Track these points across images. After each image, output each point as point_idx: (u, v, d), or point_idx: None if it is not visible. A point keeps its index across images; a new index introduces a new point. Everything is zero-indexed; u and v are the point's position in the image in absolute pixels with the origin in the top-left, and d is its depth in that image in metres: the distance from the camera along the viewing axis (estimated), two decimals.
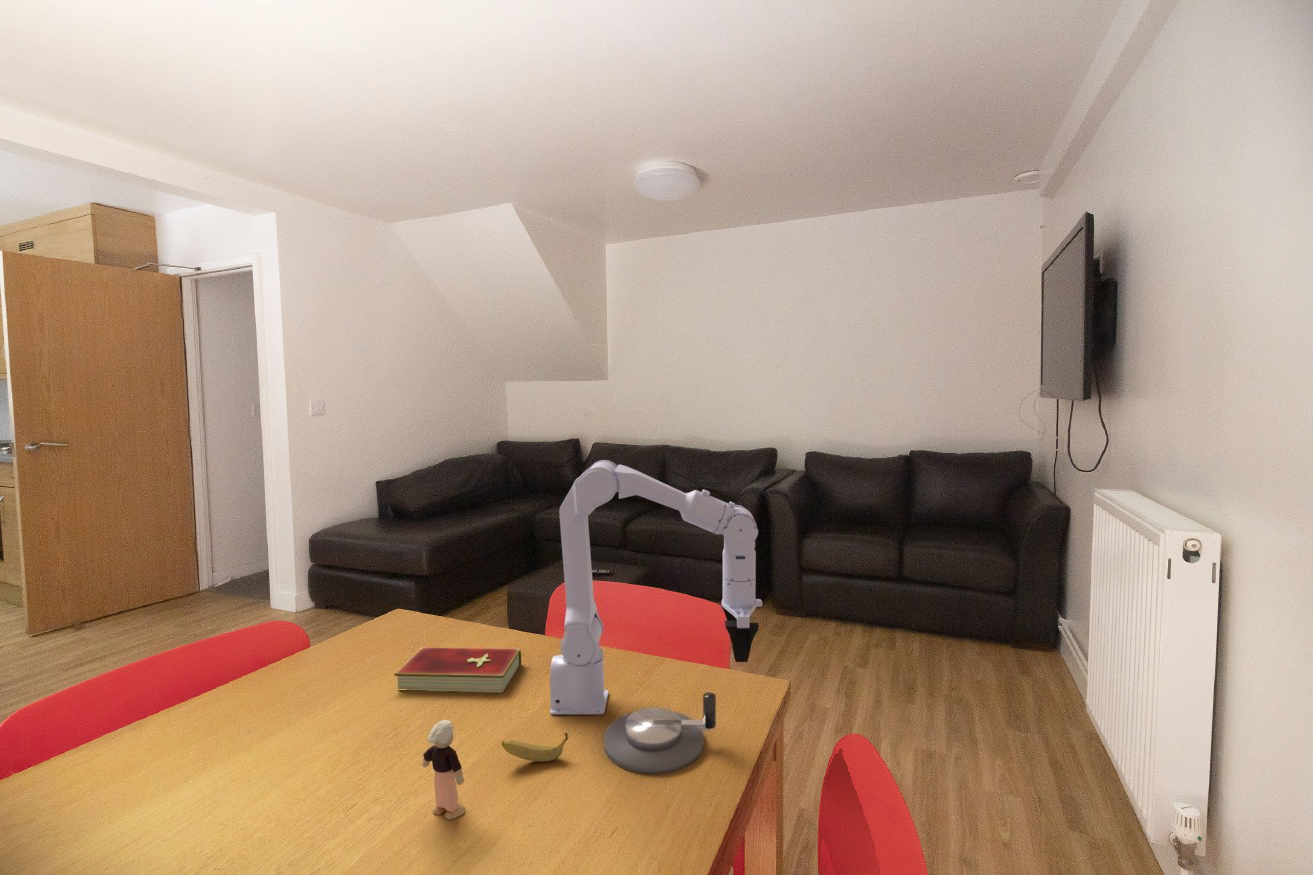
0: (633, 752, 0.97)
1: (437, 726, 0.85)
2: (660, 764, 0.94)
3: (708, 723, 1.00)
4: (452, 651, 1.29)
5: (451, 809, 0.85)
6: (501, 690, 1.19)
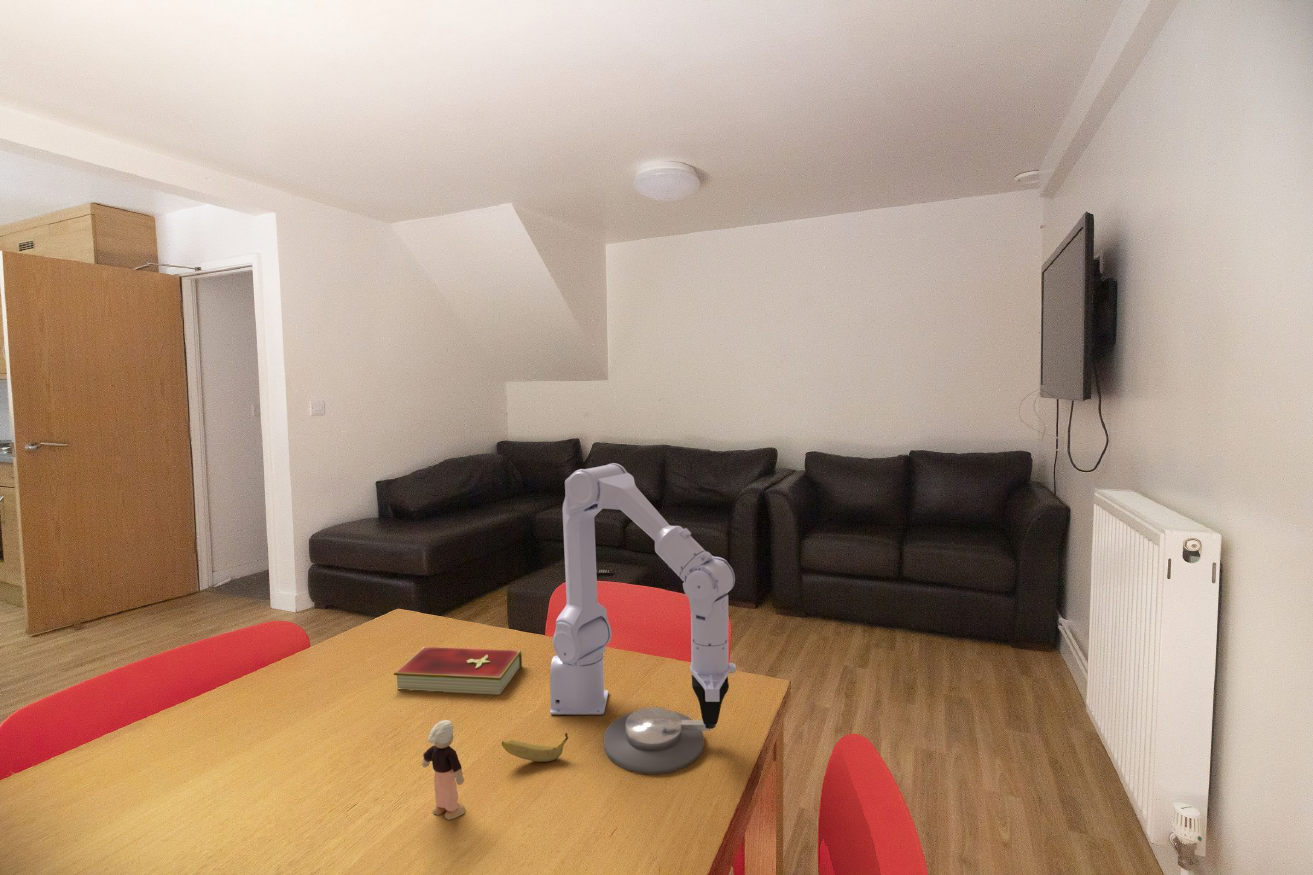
0: (633, 752, 0.97)
1: (437, 726, 0.85)
2: (660, 764, 0.94)
3: None
4: (453, 651, 1.28)
5: (451, 809, 0.85)
6: (498, 692, 1.18)
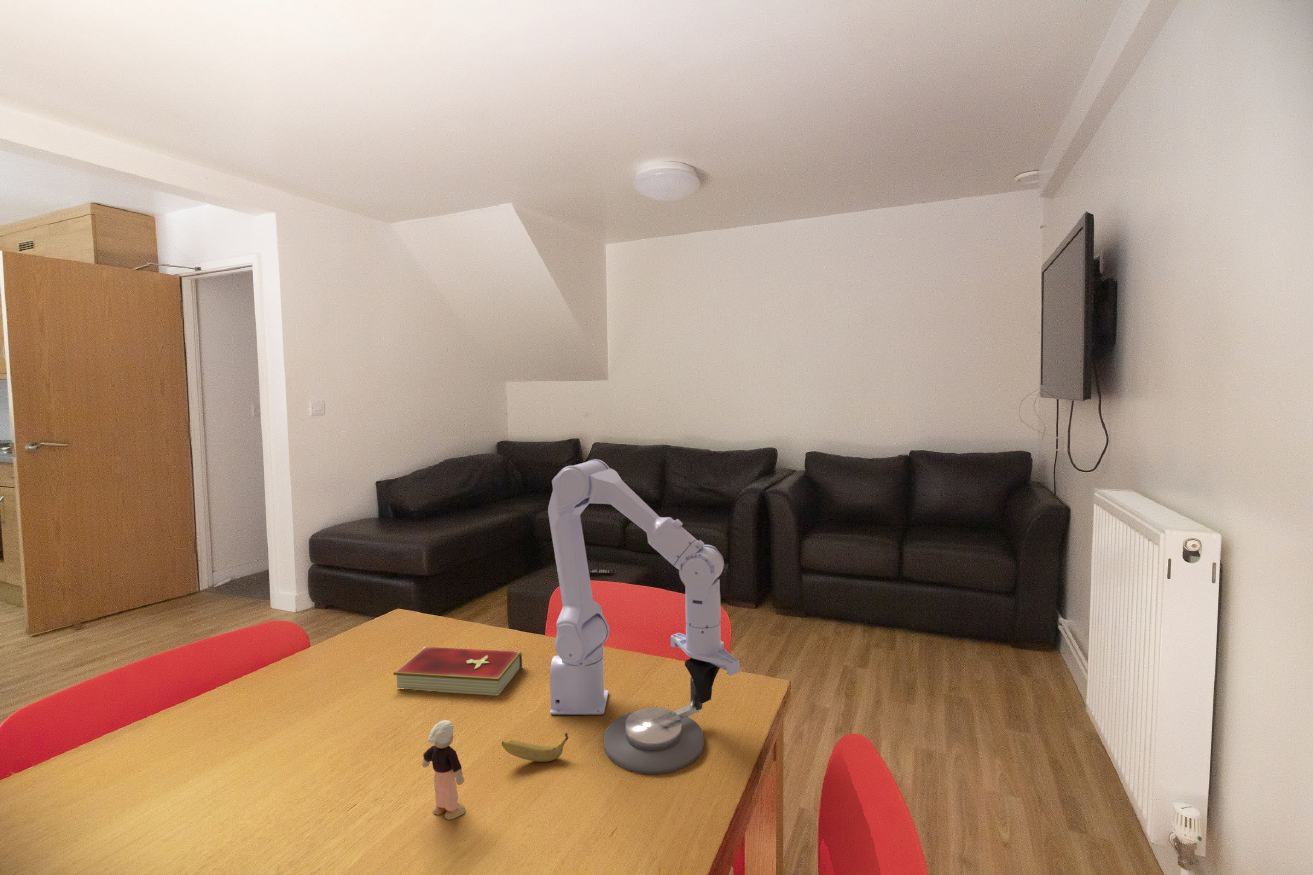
0: (633, 752, 0.97)
1: (437, 726, 0.85)
2: (660, 764, 0.94)
3: (699, 705, 1.06)
4: (454, 651, 1.28)
5: (451, 809, 0.85)
6: (497, 693, 1.17)
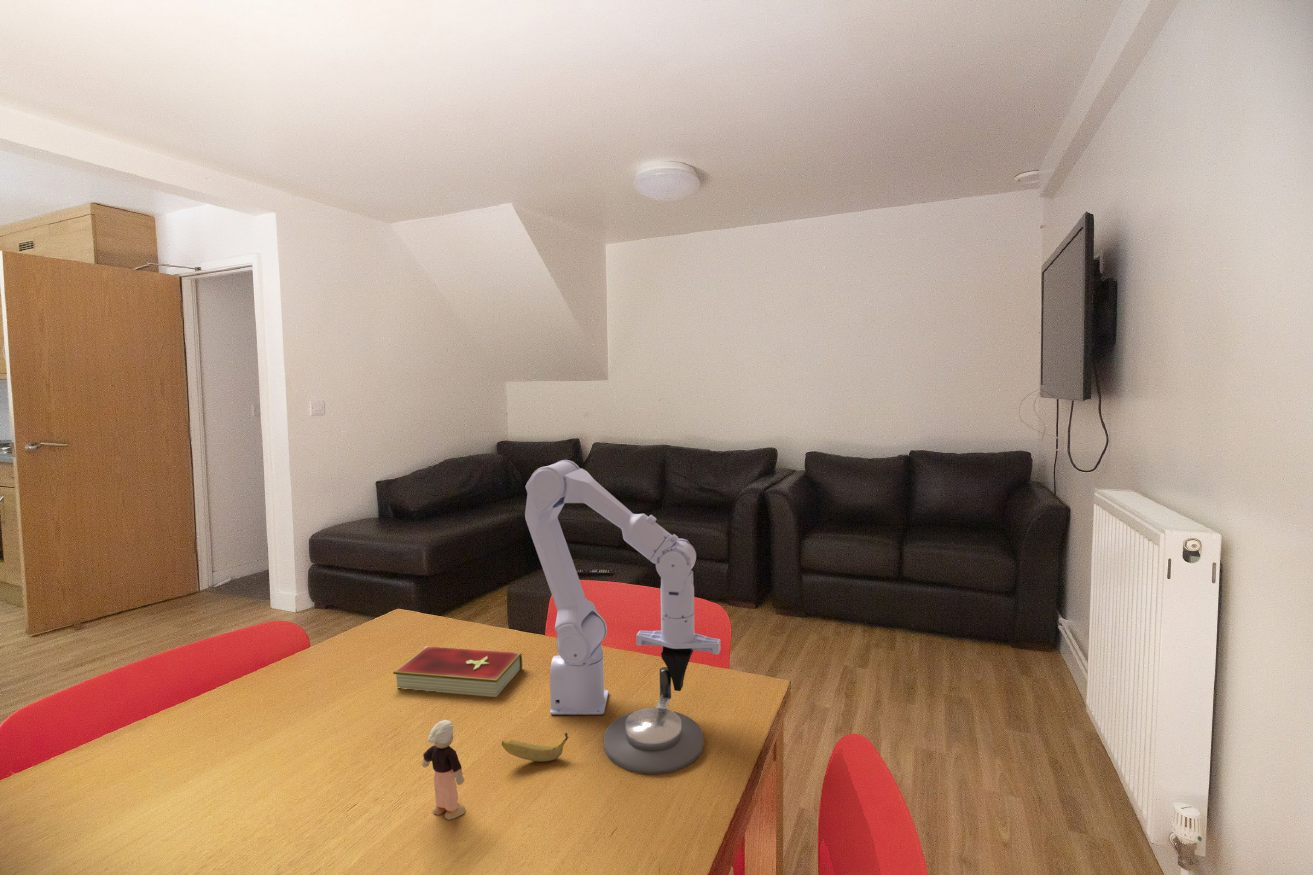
0: (633, 752, 0.97)
1: (437, 726, 0.85)
2: (660, 764, 0.94)
3: (670, 693, 1.10)
4: (454, 652, 1.28)
5: (451, 809, 0.85)
6: (495, 695, 1.17)
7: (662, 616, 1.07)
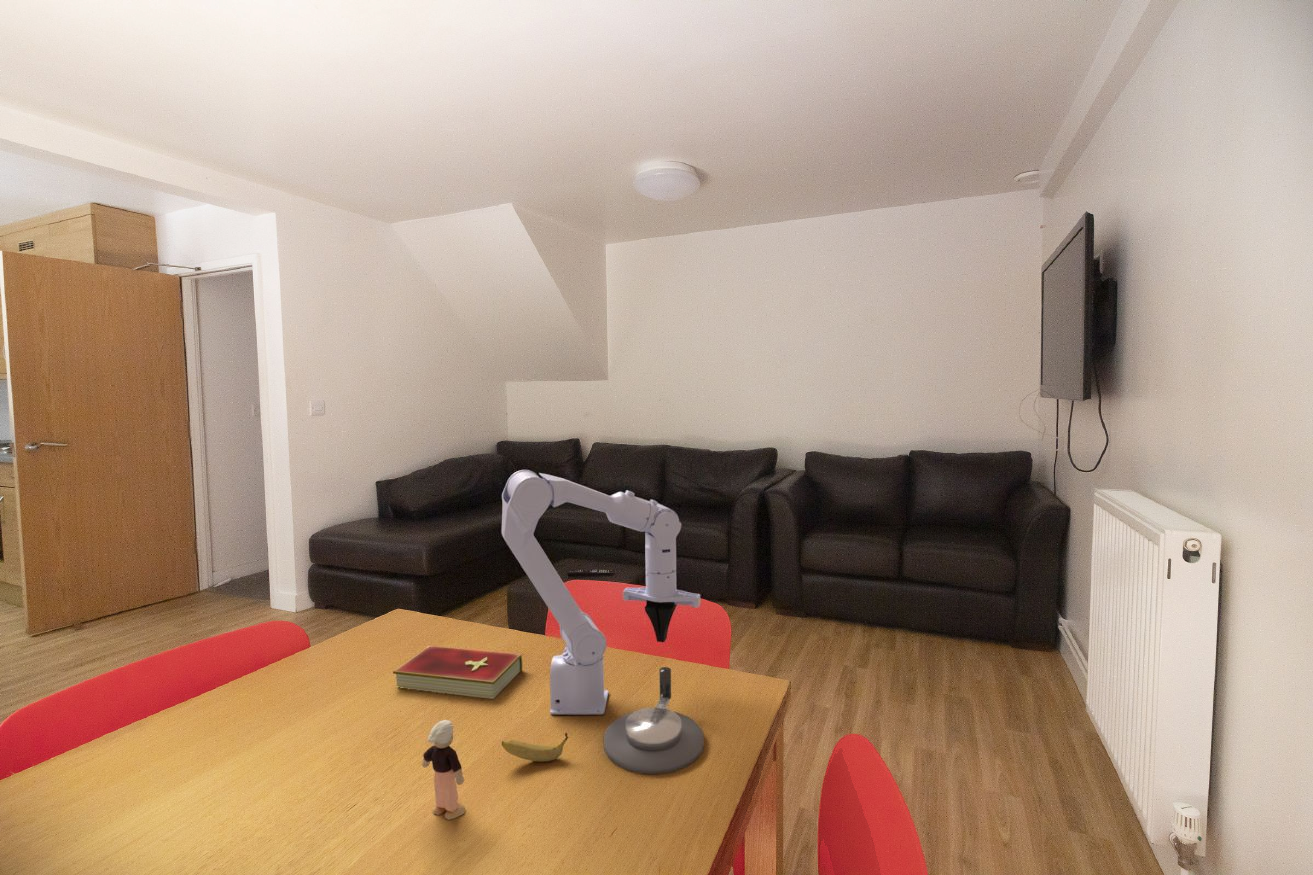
0: (633, 752, 0.97)
1: (437, 726, 0.85)
2: (660, 764, 0.94)
3: (670, 693, 1.10)
4: (455, 652, 1.28)
5: (451, 809, 0.85)
6: (492, 696, 1.16)
7: (646, 573, 1.16)
